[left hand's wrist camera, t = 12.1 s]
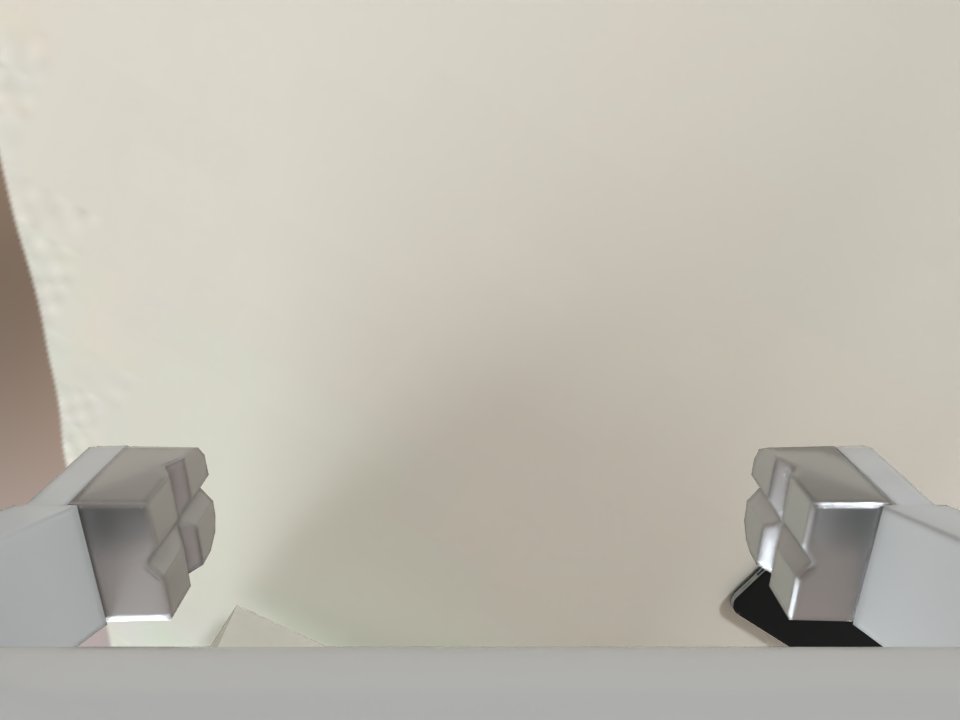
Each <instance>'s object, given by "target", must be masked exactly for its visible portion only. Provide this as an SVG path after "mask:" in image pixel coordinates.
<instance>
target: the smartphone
mask: <svg viewBox="0 0 960 720" xmlns="http://www.w3.org/2000/svg"><path fill="white" fill-rule="evenodd" d="M770 579H771V573H770V572H768V571H766V570H765V569H763V568H760V569H759V570H758V571H757V572H756V573H755V574H754V575H753V576H752V577H751V578H750V579H749V580H748V581H747V582H746V583H745V584H744V585H742V586H741V587H740V588H739V589H738V590H737V591H736V592H735V593H734V594H733V596H732V598H731V604H732V606H733V608H734V610H735V612H736V613H737V614H739V615H740V616H742V617H743V618H745V619H747V620H748V621H750V622H751V623H753V624H755V625H756V626H758V627H759V628H761V629H762V630H764V631H766V632H767V633H769V634H770V635H772V636H774V637H775V638H777V639H778V640H780V641H782V642H783V643H785V644H786V645H788V646H790V647H883V646H881V645H880V644H879V643H877V642H876V641H875V640H873V639H872V638H871V637H869V636H868V635H867V634H865V633H864V632H863V631H861V630H860V629H859V628H857V627H856V626H855V625H853V621H816V620H789V619H788V617H787V615H786V613H785V612H784V610H783V608H782V607H781V605H780V603H779V602H778V600H777V598H776V597H775V595H774V593H773V592H772V590H771V588H770V586H769V584H770Z"/></svg>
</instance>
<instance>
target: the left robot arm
mask: <svg viewBox="0 0 960 720" xmlns="http://www.w3.org/2000/svg"><path fill="white" fill-rule="evenodd" d="M208 475H209V474H208V470H207V465H206V460H205V455H204V454H203V453H202V452H201V450H200V449H199V448H193V447H138V446H132V447H129V446H98V447H89V448H88V449H87V450H86V451H85V452H84V453H82V454H81V455H80V456H79V457H78V458H77V459H76V460H75V461H74V462H72V463H71V464H70V465H69V466H68V467H67V468H66V469H65V470H64V471H63V472H61V473H60V474H59V475H58V476H57V477H56V478H55V479H54V480H53V481H51V482H50V483H49V484H48V485H47V486H46V487H45V488H44V489H43V490H42V491H40V492H39V493H38V494H37V495H36V496H35V497H34V498H33V499H32V500H31V501H30V502H28V503H27V504H26V505H13V506H11V507H8V508H6V509H3V510H1V511H0V720H960V511H959V510H957V509H954V508H952V507H949V506H947V505H934V504H933V503H932V502H931V501H930V500H928V499H927V498H926V497H925V496H924V495H923V494H922V493H921V492H920V491H919V490H917V489H916V488H915V487H914V486H913V485H912V484H911V483H910V482H909V481H908V480H906V479H905V478H904V477H903V476H902V475H901V474H900V473H899V472H898V471H897V470H895V469H894V468H893V467H892V466H891V465H890V464H889V463H888V462H887V461H886V460H884V459H883V458H882V457H881V456H880V455H879V454H878V453H877V452H876V451H875V450H873V449H872V448H870V447H866V446H863V445H862V446H839V447H834V446H822V447H780V448H763V449H759V450H758V453H757V455H756V457H755V459H754V463H753V469H752V474H751V475H752V476H753V478H754V480H755V481H756V483H757V484H758V486H759V487H760V488H759V489H758V490H757V491H756V492H755V493H754V494H753V495H752V496H751V497H750V498H749V499H748V500H747V504H746V512H745V519H744V523H745V534H746V541H747V544H748V547H749V550H750V553H751V555H752V557H753V559H754V560H755V562H756V564H757V565H758V566H760V567H762V568H763V569H765V570H766V571H768V572H770V573H771V579H770V584H769V586H770V588H771V590H772V592H773V593H774V595H775V597H776V598H777V600H778V602H779V603H780V605H781V607H782V608H783V610H784V612H785V613H786V615H787V617H788V619H789V620H816V621H853V625H855V626H856V627H857V628H859V629H860V630H861V631H863V632H864V633H865V634H867V635H868V636H869V637H871V638H872V639H873V640H875V641H876V642H877V643H879V644H880V645H881V646H883V647H77V646H79V645H80V644H81V643H83V642H84V641H85V640H87V639H88V638H90V637H91V636H92V635H94V634H95V633H96V632H98V631H99V630H100V629H102V628H103V627H104V626H106V625H107V621H143V620H171V619H172V617H173V615H174V614H175V612H176V610H177V609H178V607H179V605H180V603H181V602H182V600H183V598H184V597H185V595H186V593H187V592H188V590H189V588H190V586H191V584H190V579H189V573H190V572H192V571H194V570H195V569H197V568H198V567H200V566H202V565H203V564H204V562H205V560H206V558H207V557H208V555H209V553H210V551H211V547H212V543H213V539H214V535H215V510H214V504H213V500H212V499H211V498H210V497H209V496H208V495H207V494H206V493H205V492H204V491H203V490H202V489H201V488H200V487H201V486H202V484H203V483H204V481H205V480H206V478H207V476H208Z"/></svg>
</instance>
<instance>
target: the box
mask: <svg viewBox="0 0 960 720" xmlns="http://www.w3.org/2000/svg"><path fill="white" fill-rule="evenodd" d="M210 647H326V646H324V645H321V644H319V643H317V642H315V641H313V640H311V639H309V638H306V637H304V636H302V635H300V634H298V633H296V632H294V631H291V630H289V629H287V628H285V627H283V626H281V625H279V624H276V623H274V622H272V621H270V620H268V619H266V618H264V617H261V616H259V615H257V614H255V613H253V612H251V611H249V610H246V609H244V608H242V607H240V606H238V605H237V606H236V607H235V609H234V610H233V612H232V614H231V615H230V617H229V618H228V620H227V621H226V623H225V624H224V626H223V628H222V629H221V631H220V632H219V634H218V635H217V637H216V639H215V640H214V642H213V643H212V645H211V646H210Z"/></svg>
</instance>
